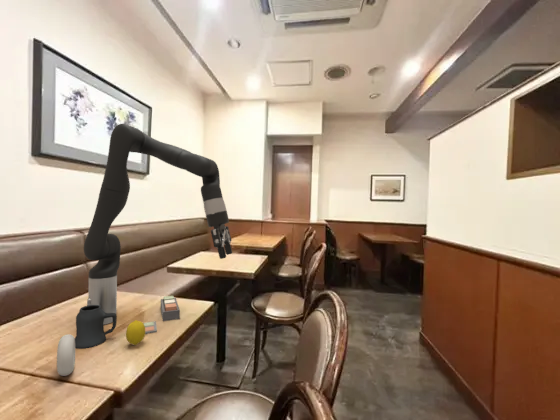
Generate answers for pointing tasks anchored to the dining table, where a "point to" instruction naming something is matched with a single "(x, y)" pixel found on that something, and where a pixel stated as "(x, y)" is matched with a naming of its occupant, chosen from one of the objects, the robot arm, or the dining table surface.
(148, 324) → the tile
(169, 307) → the key terracotta
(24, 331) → the dining table surface
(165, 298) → the key sage
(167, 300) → the key cream
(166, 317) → the keypad
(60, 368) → the donut
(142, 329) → the lemon
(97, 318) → the mug
